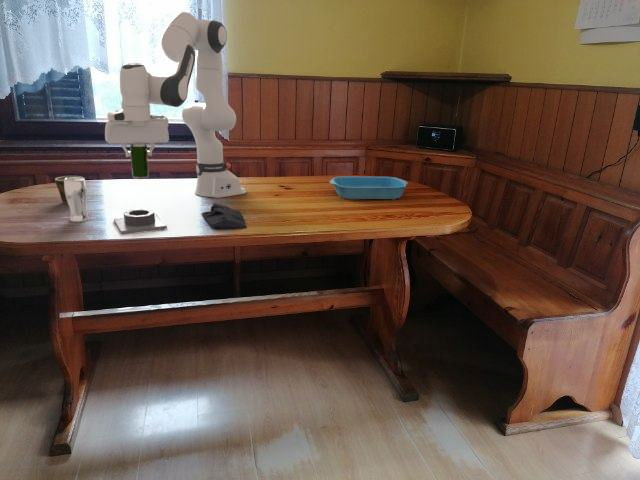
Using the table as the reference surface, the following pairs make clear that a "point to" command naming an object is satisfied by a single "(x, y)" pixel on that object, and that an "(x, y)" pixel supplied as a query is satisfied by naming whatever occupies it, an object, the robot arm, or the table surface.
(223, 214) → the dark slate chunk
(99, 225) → the table surface
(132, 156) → the beer can
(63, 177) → the ceramic cup
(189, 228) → the table surface
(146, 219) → the barrel holder
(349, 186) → the casserole dish
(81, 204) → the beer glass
